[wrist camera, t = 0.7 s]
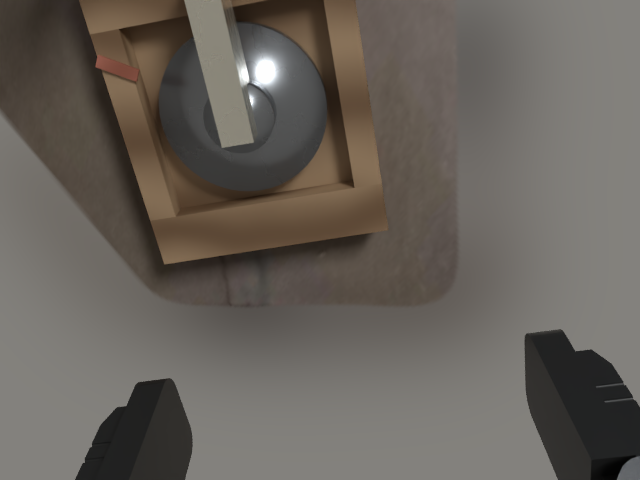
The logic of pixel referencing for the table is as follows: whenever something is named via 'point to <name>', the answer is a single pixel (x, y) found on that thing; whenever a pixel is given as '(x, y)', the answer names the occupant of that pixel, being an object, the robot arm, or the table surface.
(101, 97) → the table surface
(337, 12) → the wooden tray
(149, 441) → the robot arm
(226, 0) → the dial
